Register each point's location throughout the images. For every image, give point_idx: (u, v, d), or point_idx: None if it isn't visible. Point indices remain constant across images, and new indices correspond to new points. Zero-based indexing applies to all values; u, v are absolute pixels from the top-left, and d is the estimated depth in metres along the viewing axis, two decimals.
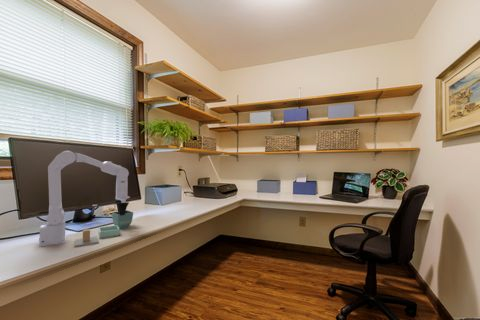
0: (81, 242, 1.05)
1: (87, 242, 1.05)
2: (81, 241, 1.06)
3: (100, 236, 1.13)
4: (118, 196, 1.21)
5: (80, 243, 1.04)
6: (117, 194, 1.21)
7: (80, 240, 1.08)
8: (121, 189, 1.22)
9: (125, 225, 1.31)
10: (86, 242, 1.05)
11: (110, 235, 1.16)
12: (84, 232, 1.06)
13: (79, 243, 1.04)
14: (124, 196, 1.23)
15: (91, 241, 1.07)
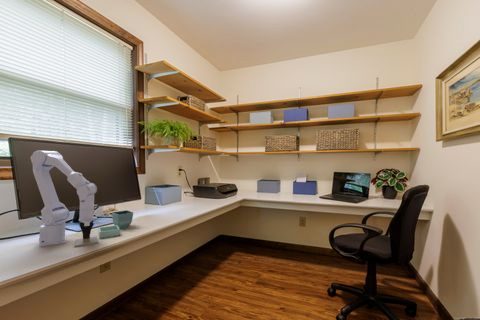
0: (81, 242, 1.05)
1: (87, 242, 1.05)
2: (81, 241, 1.06)
3: (100, 236, 1.13)
4: (82, 218, 1.05)
5: (80, 243, 1.04)
6: (81, 215, 1.05)
7: (80, 240, 1.08)
8: (85, 209, 1.05)
9: (125, 225, 1.31)
10: (86, 242, 1.05)
11: (110, 235, 1.16)
12: None
13: (79, 243, 1.04)
14: (89, 217, 1.06)
15: (91, 241, 1.07)
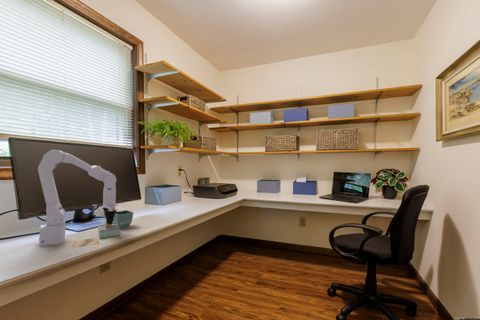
0: (104, 228, 1.17)
1: (110, 228, 1.17)
2: (104, 227, 1.18)
3: (100, 236, 1.13)
4: (105, 204, 1.16)
5: (104, 229, 1.15)
6: (104, 202, 1.16)
7: (103, 226, 1.20)
8: (109, 197, 1.16)
9: (125, 225, 1.31)
10: (109, 228, 1.17)
11: (110, 235, 1.16)
12: None
13: (103, 229, 1.15)
14: (112, 204, 1.17)
15: (113, 227, 1.18)
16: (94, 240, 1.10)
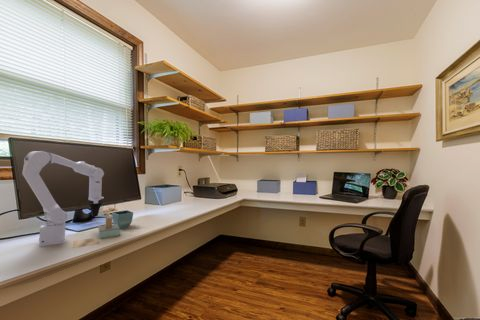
0: (104, 228, 1.17)
1: (110, 228, 1.17)
2: (104, 227, 1.18)
3: (100, 236, 1.13)
4: (91, 197, 1.19)
5: (104, 229, 1.15)
6: (90, 194, 1.19)
7: (103, 226, 1.20)
8: (94, 189, 1.20)
9: (125, 225, 1.31)
10: (109, 228, 1.17)
11: (110, 235, 1.16)
12: (107, 219, 1.17)
13: (103, 229, 1.15)
14: (97, 197, 1.21)
15: (113, 227, 1.18)
16: (94, 240, 1.10)
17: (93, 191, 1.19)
